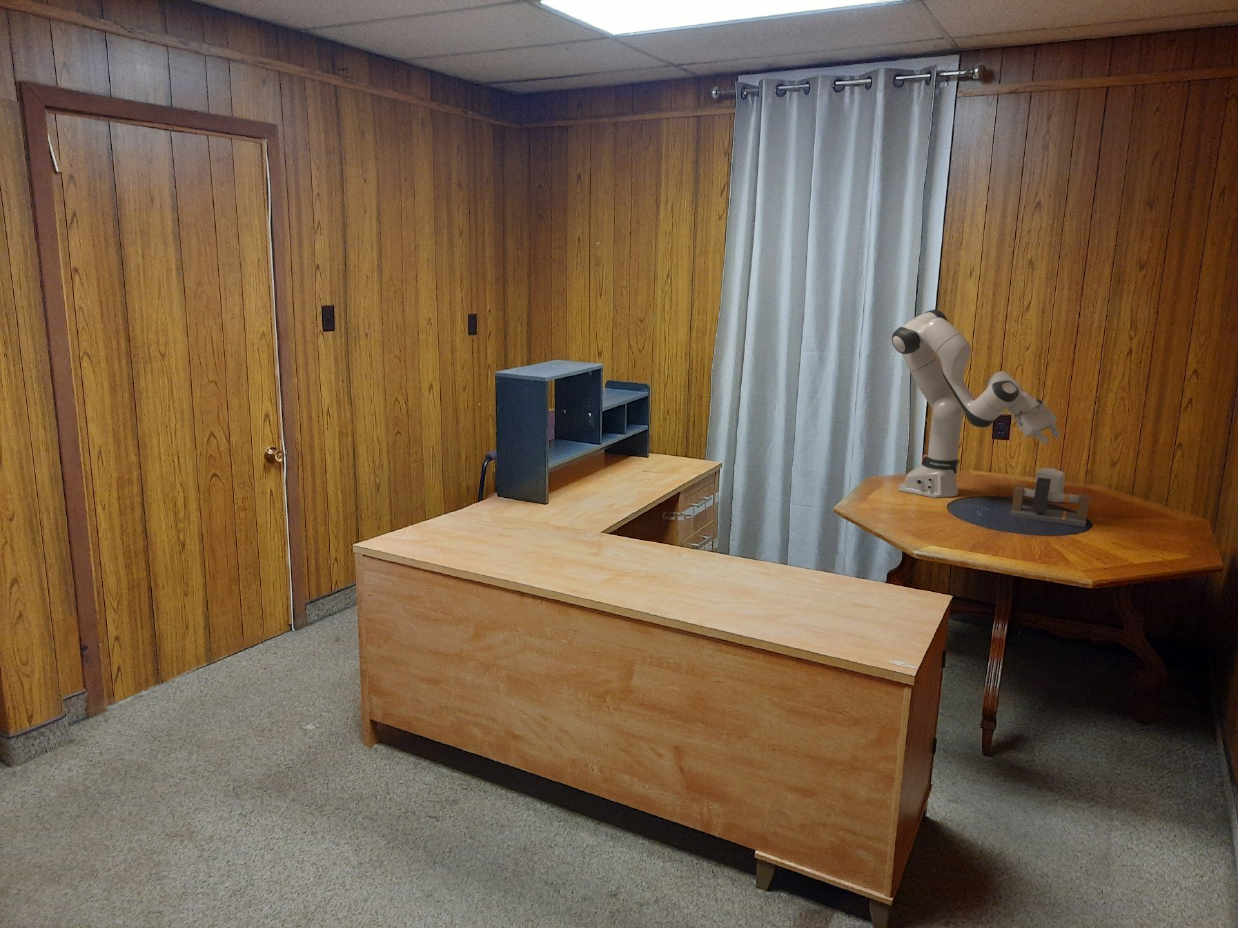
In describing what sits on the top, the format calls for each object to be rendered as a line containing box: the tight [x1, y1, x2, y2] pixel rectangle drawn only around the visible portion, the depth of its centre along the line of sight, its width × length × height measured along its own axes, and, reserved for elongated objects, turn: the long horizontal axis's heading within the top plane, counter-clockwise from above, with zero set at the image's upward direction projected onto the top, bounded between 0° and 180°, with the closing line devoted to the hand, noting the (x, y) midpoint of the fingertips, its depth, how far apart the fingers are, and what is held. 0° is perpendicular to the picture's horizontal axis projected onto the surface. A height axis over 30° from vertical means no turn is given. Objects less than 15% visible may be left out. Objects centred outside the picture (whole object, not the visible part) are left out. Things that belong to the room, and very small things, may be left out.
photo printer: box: [1034, 467, 1066, 504], centre depth 330 cm, size 10×4×12 cm, turn 39°
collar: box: [1032, 478, 1051, 512], centre depth 308 cm, size 4×10×10 cm, turn 150°
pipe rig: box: [1009, 485, 1091, 528], centre depth 307 cm, size 24×12×10 cm, turn 60°
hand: (1052, 439), depth 300 cm, fingers open, 8 cm apart
